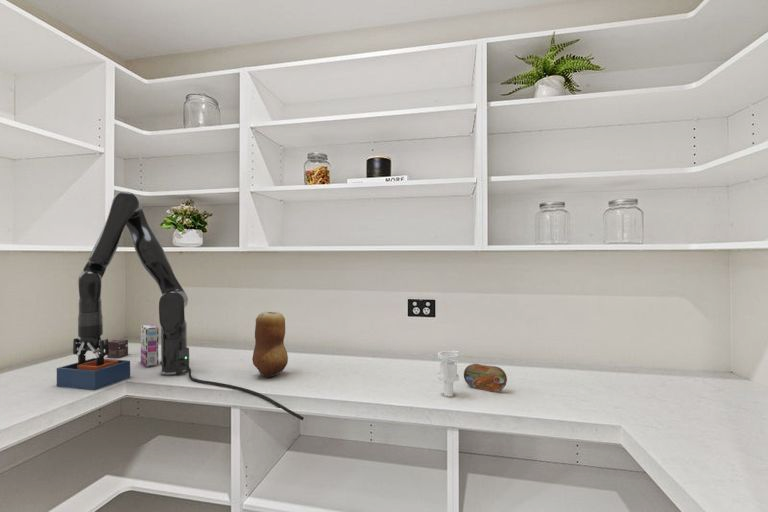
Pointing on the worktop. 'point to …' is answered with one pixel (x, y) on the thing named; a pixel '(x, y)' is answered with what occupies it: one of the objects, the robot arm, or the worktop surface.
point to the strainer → (448, 370)
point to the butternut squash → (270, 344)
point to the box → (118, 348)
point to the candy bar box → (149, 345)
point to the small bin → (94, 367)
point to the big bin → (92, 375)
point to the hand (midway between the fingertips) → (91, 366)
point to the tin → (485, 377)
